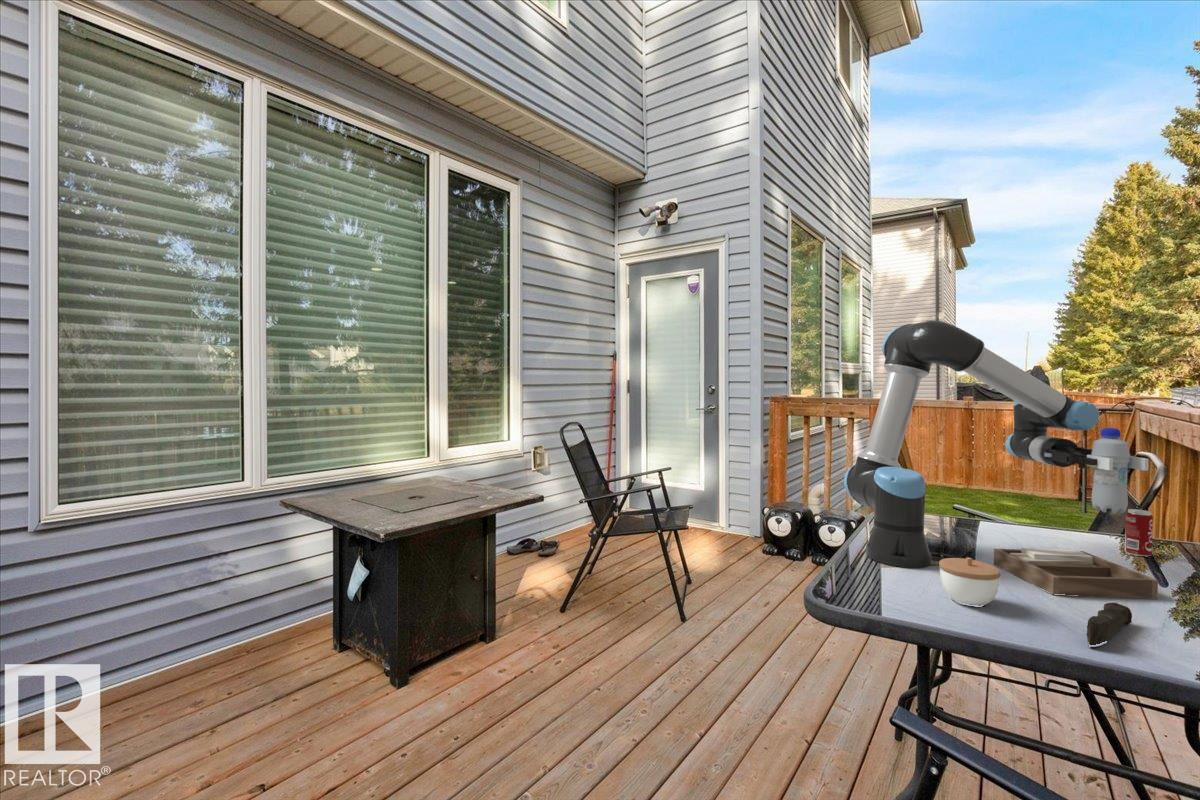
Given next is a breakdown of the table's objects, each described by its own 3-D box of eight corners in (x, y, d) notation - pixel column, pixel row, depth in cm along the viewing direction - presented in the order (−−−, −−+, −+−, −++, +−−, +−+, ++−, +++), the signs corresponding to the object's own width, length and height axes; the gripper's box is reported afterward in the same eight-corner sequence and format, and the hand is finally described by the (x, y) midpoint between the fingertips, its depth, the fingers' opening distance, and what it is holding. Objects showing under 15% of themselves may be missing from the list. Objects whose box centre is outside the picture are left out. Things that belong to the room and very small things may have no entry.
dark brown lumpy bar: (1104, 618, 107) (1105, 595, 107) (1132, 626, 104) (1132, 602, 104) (1070, 644, 97) (1070, 619, 97) (1099, 653, 94) (1100, 627, 93)
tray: (993, 564, 138) (994, 548, 138) (1082, 566, 137) (1082, 551, 136) (1052, 595, 118) (1053, 577, 118) (1157, 598, 117) (1158, 580, 116)
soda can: (1139, 552, 148) (1141, 508, 148) (1157, 558, 143) (1159, 513, 143) (1119, 551, 149) (1120, 508, 149) (1136, 557, 144) (1137, 512, 143)
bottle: (1084, 510, 130) (1085, 427, 129) (1099, 507, 133) (1101, 426, 132) (1119, 516, 124) (1121, 429, 123) (1134, 513, 127) (1137, 428, 126)
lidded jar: (998, 599, 116) (999, 556, 116) (1000, 617, 107) (1002, 570, 107) (939, 588, 122) (940, 547, 122) (937, 604, 113) (938, 560, 113)
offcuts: (1006, 562, 137) (1007, 546, 137) (1079, 564, 135) (1079, 548, 135) (1026, 572, 130) (1026, 555, 130) (1102, 574, 128) (1103, 557, 128)
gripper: (1093, 465, 145) (1175, 481, 122) (1015, 465, 147) (1081, 480, 124) (1094, 437, 145) (1176, 448, 122) (1015, 437, 147) (1082, 448, 124)
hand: (1128, 464), depth 123 cm, fingers closed on bottle, 7 cm apart
